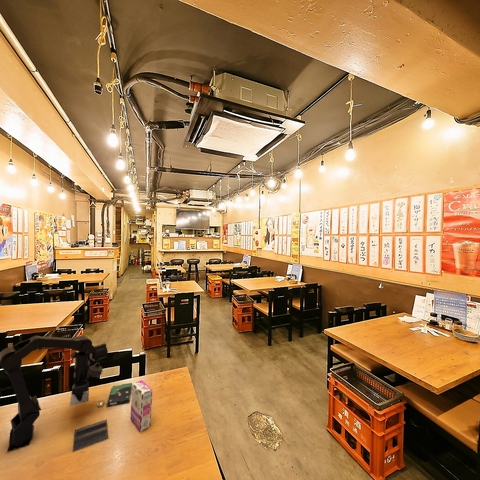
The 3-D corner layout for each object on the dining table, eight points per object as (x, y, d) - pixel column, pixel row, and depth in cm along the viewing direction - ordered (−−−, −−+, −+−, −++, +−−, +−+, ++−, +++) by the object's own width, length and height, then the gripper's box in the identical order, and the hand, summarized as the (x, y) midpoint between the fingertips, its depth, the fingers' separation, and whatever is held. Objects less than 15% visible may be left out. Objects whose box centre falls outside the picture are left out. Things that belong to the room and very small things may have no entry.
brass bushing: (96, 408, 112) (97, 405, 112) (96, 404, 115) (97, 401, 115) (104, 406, 114) (104, 403, 114) (104, 402, 117) (104, 399, 117)
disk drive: (129, 404, 117) (131, 387, 131) (129, 398, 117) (132, 382, 131) (106, 408, 113) (111, 390, 127) (106, 403, 113) (111, 385, 127)
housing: (70, 406, 103) (70, 396, 104) (70, 399, 108) (71, 390, 108) (88, 401, 107) (89, 391, 107) (88, 395, 111) (89, 386, 112)
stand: (72, 451, 89) (73, 445, 89) (74, 432, 98) (74, 426, 98) (108, 438, 95) (108, 432, 95) (106, 421, 104) (107, 415, 104)
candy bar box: (151, 426, 102) (153, 389, 103) (140, 433, 99) (142, 394, 99) (140, 413, 110) (142, 379, 111) (129, 419, 106) (131, 383, 107)
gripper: (102, 369, 105) (100, 403, 104) (101, 352, 120) (99, 382, 120) (72, 375, 99) (70, 412, 98) (75, 357, 114) (73, 389, 114)
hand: (80, 397), depth 108 cm, fingers closed on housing, 5 cm apart
